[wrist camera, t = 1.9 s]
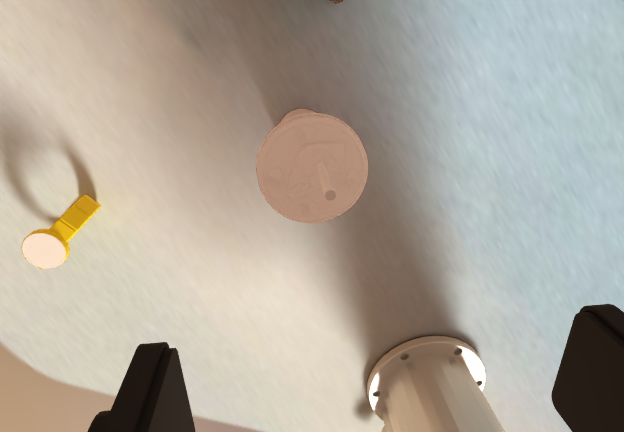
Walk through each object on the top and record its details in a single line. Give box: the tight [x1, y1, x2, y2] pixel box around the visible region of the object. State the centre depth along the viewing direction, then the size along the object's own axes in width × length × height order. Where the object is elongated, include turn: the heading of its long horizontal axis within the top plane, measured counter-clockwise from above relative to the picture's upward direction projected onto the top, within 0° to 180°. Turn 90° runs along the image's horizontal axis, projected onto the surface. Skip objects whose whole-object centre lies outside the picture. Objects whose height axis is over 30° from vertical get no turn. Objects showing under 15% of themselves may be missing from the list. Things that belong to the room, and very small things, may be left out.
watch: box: [22, 195, 101, 269], centre depth 30 cm, size 6×3×6 cm, turn 132°
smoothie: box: [256, 109, 368, 223], centre depth 25 cm, size 6×6×14 cm
